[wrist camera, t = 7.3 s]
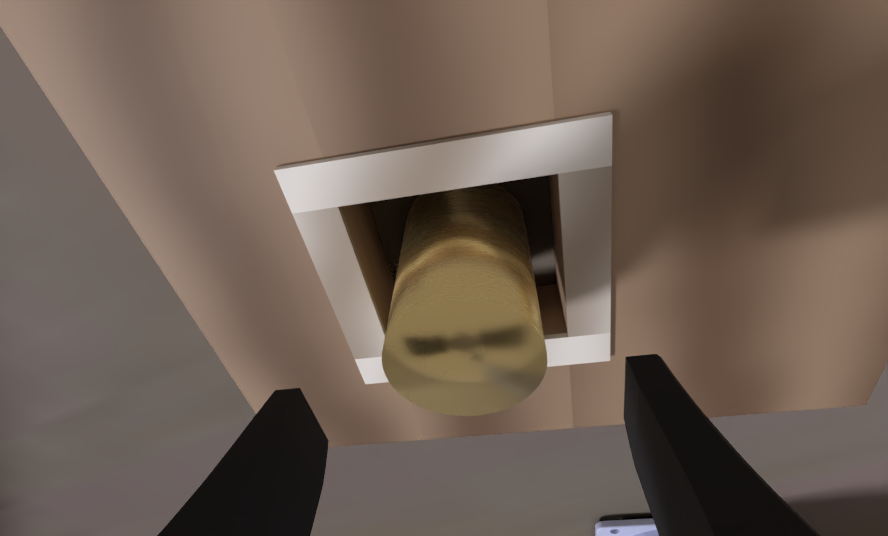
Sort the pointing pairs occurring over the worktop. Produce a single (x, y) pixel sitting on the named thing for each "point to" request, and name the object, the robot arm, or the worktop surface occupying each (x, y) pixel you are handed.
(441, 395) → the brass peg
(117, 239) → the worktop surface
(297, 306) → the plate
